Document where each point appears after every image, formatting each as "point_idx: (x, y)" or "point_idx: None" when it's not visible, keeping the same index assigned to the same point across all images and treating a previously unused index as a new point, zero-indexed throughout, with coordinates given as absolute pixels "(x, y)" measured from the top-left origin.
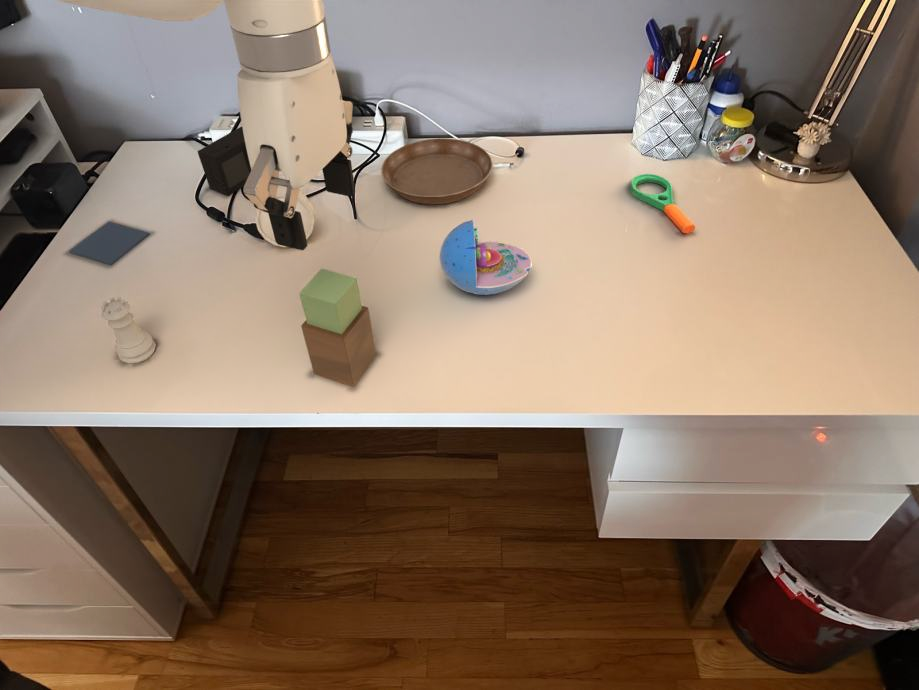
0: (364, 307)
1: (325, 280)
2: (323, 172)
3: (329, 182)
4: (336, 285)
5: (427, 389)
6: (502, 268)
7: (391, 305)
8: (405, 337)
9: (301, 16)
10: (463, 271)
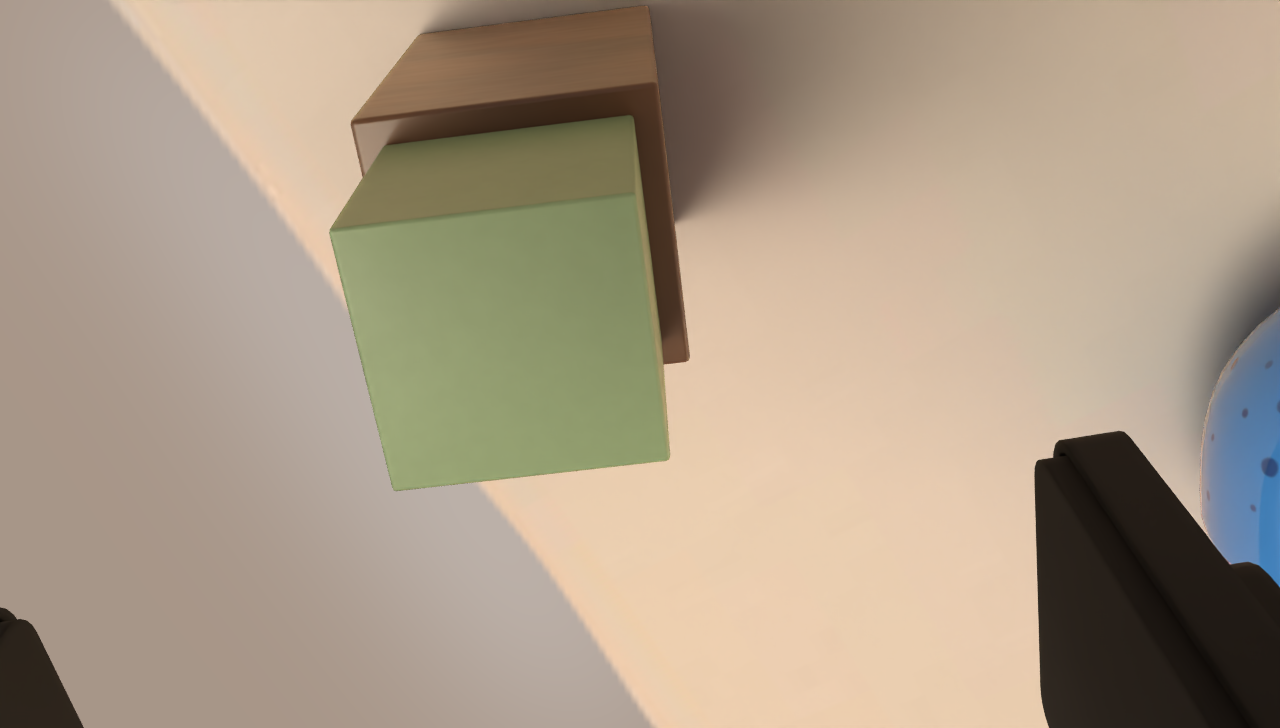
0: (677, 344)
1: (539, 302)
2: (1135, 629)
3: (1087, 584)
4: (535, 398)
5: (619, 501)
6: None
7: (1026, 76)
8: (843, 269)
9: None
10: (1241, 512)
